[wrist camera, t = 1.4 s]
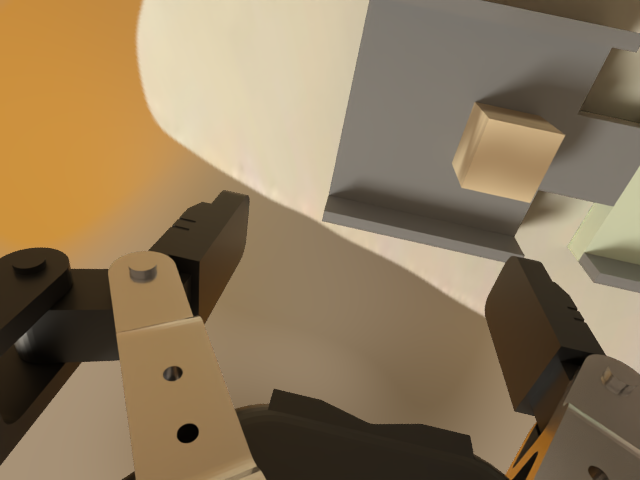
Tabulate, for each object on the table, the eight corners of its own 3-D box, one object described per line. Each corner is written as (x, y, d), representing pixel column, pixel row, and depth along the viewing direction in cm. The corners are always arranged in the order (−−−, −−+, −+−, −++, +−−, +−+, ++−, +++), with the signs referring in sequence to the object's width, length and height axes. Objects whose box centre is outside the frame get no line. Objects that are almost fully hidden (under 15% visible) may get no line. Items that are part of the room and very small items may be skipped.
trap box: (374, -20, 23) (372, -23, 20) (821, 74, 23) (909, 89, 19) (329, 193, 31) (322, 221, 27) (665, 268, 30) (706, 307, 26)
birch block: (474, 101, 24) (489, 118, 21) (540, 115, 24) (565, 135, 21) (451, 163, 26) (461, 187, 23) (511, 176, 26) (530, 203, 23)
